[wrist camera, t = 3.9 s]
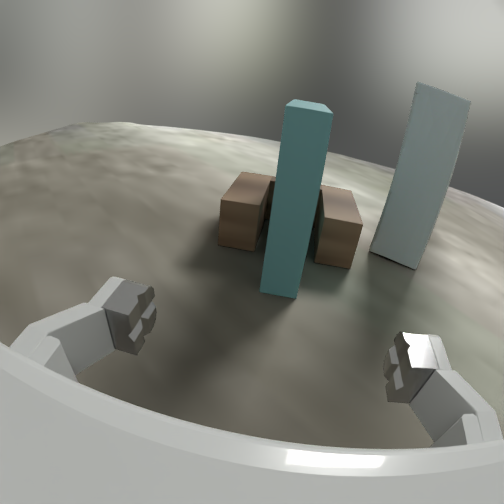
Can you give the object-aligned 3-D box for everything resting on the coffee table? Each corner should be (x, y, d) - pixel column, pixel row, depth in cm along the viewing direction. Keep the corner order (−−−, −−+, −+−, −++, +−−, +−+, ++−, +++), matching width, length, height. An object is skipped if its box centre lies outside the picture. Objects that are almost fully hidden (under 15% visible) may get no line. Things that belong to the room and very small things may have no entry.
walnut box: (350, 268, 25) (363, 224, 23) (217, 245, 26) (220, 199, 24) (342, 226, 32) (351, 190, 30) (238, 208, 33) (241, 171, 31)
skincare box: (420, 275, 25) (473, 99, 17) (367, 253, 28) (408, 78, 19) (429, 210, 41) (455, 108, 33) (396, 198, 44) (419, 96, 35)
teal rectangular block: (295, 298, 21) (333, 113, 15) (259, 292, 21) (285, 105, 15) (301, 232, 30) (324, 104, 23) (275, 228, 30) (294, 99, 24)
